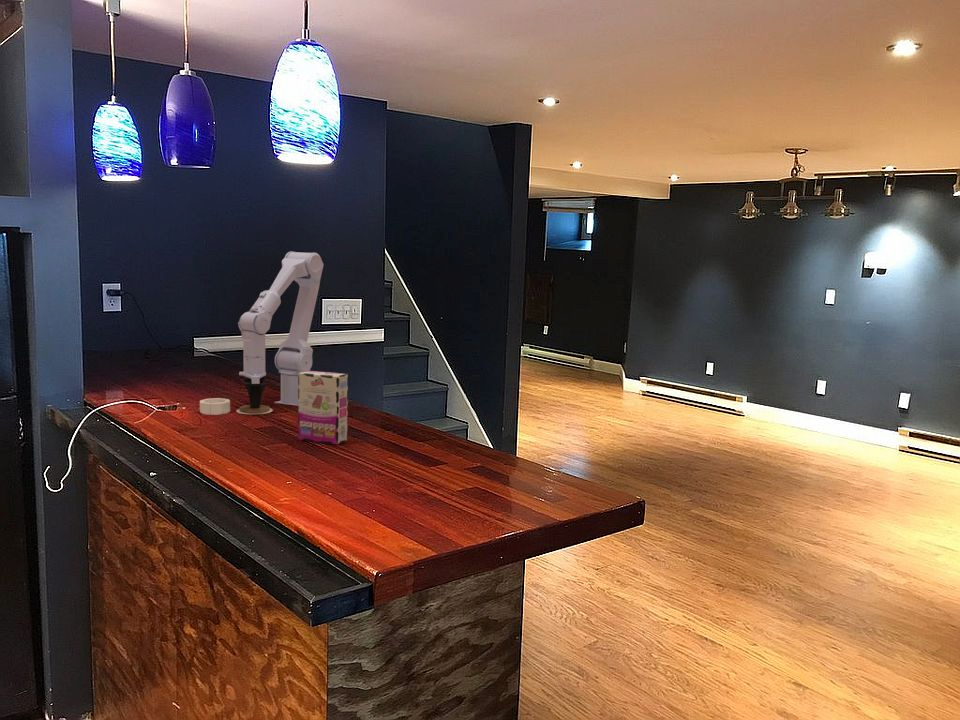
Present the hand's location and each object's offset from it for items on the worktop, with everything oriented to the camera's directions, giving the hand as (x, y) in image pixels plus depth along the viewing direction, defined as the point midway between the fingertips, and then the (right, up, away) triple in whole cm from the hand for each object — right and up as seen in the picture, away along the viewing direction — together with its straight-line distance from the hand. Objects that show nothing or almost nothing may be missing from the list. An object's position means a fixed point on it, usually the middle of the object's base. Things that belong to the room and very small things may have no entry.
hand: (254, 405), depth 213 cm
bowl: (-10, -2, -3) cm, 10 cm away
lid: (0, -1, 0) cm, 1 cm away
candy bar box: (+24, -7, -26) cm, 36 cm away
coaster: (0, -2, 0) cm, 2 cm away
